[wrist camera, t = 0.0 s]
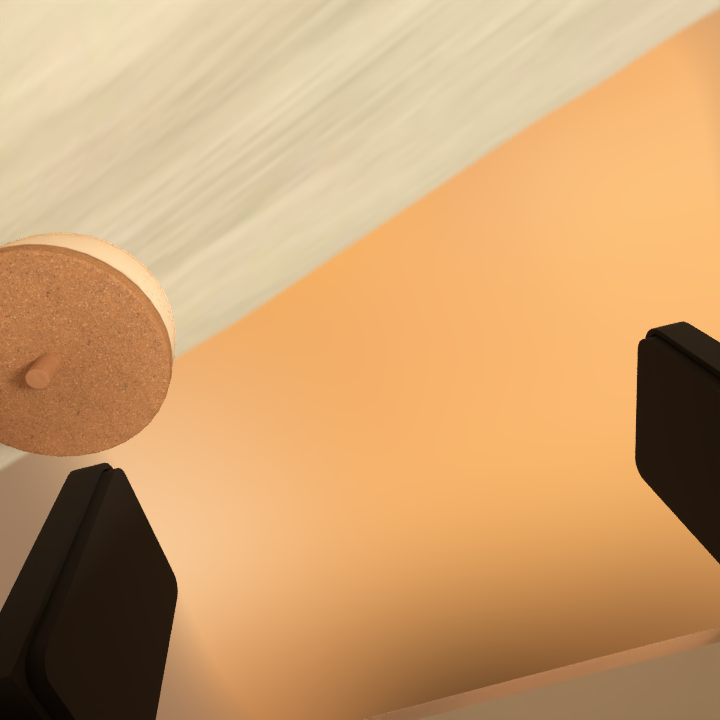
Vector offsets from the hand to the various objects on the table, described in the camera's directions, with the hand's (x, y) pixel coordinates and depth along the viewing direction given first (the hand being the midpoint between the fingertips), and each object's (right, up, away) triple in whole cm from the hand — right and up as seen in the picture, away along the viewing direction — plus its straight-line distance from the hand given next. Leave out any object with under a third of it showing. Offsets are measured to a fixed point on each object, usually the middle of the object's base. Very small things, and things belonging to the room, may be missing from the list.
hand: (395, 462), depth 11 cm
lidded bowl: (-19, +6, +30) cm, 36 cm away
